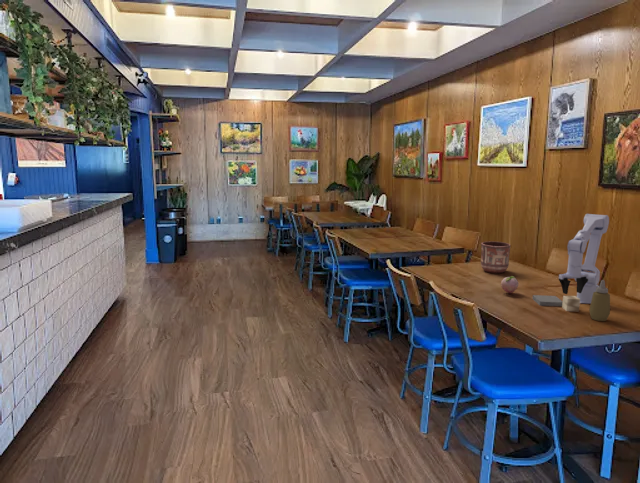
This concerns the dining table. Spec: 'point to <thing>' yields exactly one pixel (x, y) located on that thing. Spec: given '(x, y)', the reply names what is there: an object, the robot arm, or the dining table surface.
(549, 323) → the dining table surface
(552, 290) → the dining table surface
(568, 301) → the birch cube
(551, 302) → the charcoal base
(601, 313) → the squeeze bottle
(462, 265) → the dining table surface
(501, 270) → the pottery
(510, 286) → the decorative fruit
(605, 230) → the robot arm
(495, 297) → the dining table surface
